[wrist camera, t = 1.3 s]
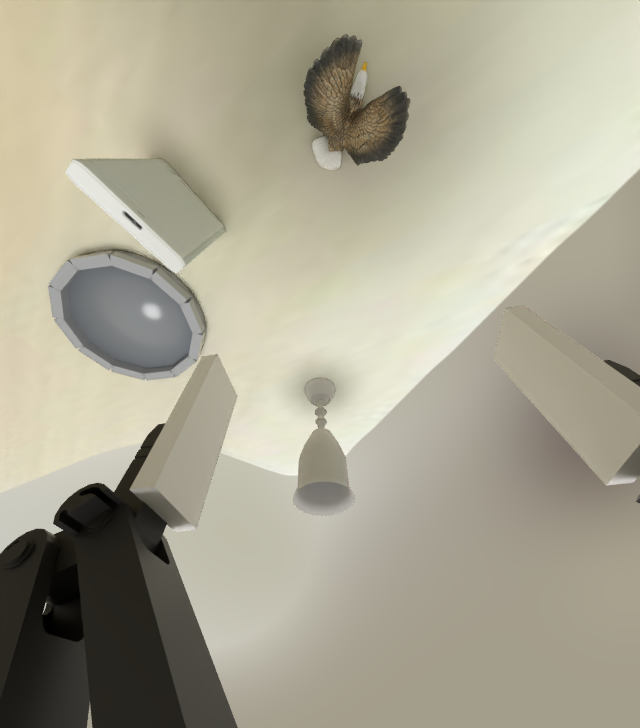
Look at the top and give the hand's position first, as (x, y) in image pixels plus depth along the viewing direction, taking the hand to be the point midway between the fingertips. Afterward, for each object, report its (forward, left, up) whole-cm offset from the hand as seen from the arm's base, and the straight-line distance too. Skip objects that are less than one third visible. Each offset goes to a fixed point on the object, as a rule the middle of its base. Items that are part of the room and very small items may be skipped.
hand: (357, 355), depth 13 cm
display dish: (+6, -26, -23) cm, 35 cm away
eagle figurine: (-10, +2, -23) cm, 25 cm away
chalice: (+22, -4, -23) cm, 32 cm away
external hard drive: (-6, -14, -23) cm, 28 cm away
